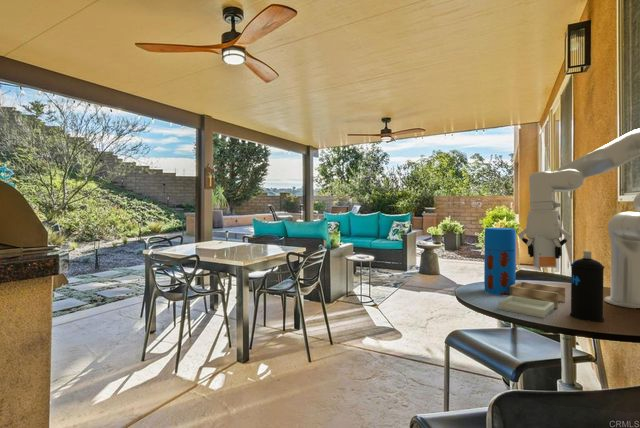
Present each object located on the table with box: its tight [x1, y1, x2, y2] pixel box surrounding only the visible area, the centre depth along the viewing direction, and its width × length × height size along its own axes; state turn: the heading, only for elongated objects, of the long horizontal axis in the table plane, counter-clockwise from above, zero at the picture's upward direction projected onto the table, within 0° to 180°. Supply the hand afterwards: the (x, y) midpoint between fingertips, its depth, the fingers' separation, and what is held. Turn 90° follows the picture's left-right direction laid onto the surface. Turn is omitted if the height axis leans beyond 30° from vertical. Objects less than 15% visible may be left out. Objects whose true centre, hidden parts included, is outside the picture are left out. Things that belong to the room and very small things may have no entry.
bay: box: [508, 280, 566, 309], centre depth 123 cm, size 14×12×5 cm
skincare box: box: [532, 233, 557, 269], centre depth 121 cm, size 6×4×12 cm
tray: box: [498, 295, 555, 319], centre depth 113 cm, size 13×12×2 cm
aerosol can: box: [569, 250, 606, 323], centre depth 104 cm, size 8×8×20 cm
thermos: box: [483, 227, 517, 296], centre depth 135 cm, size 11×11×25 cm
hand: (544, 257), depth 122 cm, fingers closed on skincare box, 7 cm apart
